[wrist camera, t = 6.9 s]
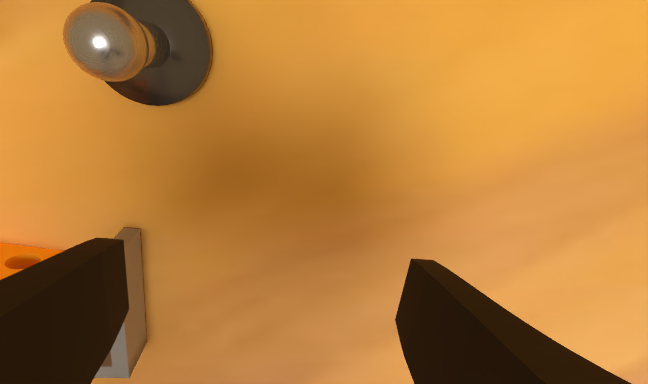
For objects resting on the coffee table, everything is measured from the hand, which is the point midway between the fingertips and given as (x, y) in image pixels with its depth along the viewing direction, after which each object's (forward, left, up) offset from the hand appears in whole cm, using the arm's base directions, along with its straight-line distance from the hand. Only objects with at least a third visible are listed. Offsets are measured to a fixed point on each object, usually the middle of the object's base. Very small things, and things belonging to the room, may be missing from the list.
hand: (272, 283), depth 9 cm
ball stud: (+5, +6, -10) cm, 13 cm away
